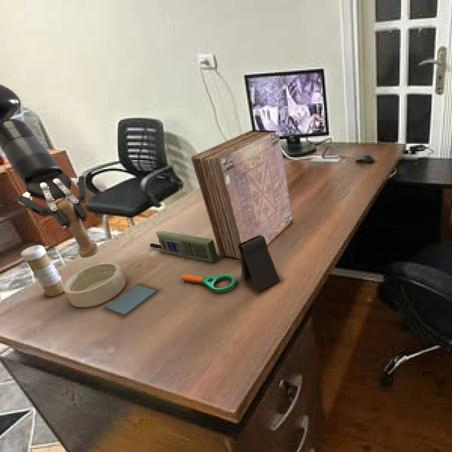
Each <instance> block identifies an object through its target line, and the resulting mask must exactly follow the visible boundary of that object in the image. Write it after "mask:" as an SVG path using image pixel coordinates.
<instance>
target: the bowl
mask: <svg viewBox="0 0 452 452" xmlns="http://www.w3.org/2000/svg"><path fill="white" fill-rule="evenodd" d="M126 281H127V279H126V277H125V275H124V272H123V271H122V268H121V267H120V265H119V264H118V263H116V262H110V261H107V262H100V263H95V264H92V265H89V266H87V267H85V268H83V269H80V270H79V271H77V272H74V274H72V275H70V277H68V278H67V279H66V280H65V281H64V285H63V290H64V291H63V292H64V294H65V295H66V297H67V298H68V300H69V302H70V303H71V305H72V306H73V307H76V308H92V307H96V306H99V305H102V304H104V303H106V302H108V301H110V300H112V299H113V298H115V297H116V296H117V295H119V294H120V293H121V292H122V291H123V289H124V287H125V286H126V284H127V282H126Z"/></svg>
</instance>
